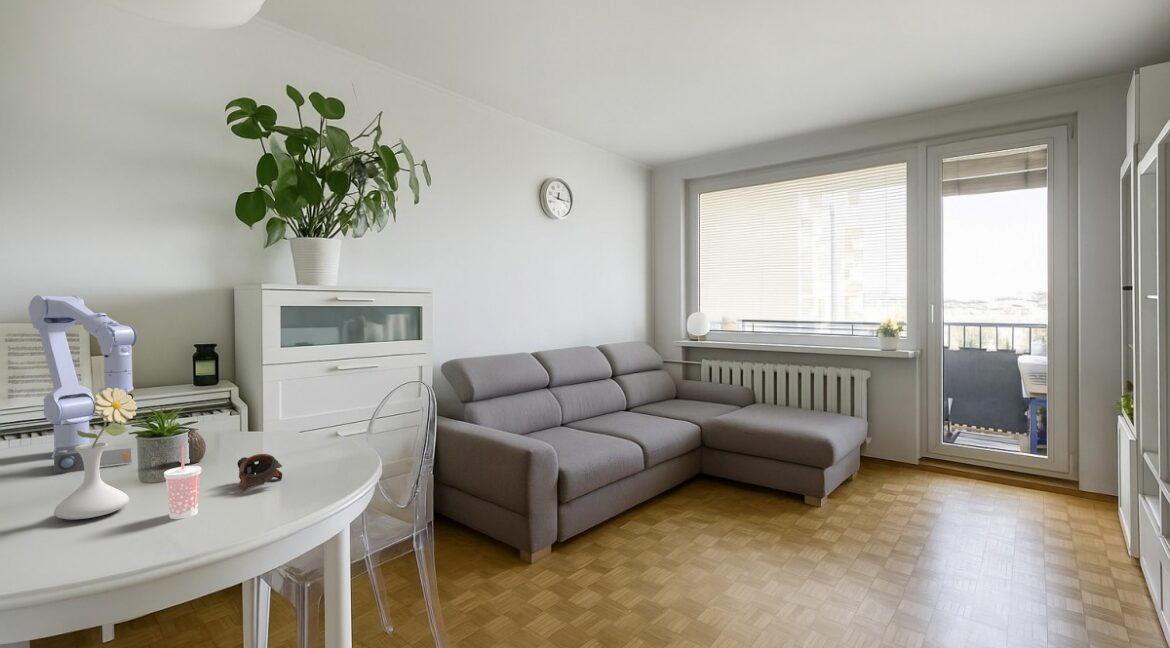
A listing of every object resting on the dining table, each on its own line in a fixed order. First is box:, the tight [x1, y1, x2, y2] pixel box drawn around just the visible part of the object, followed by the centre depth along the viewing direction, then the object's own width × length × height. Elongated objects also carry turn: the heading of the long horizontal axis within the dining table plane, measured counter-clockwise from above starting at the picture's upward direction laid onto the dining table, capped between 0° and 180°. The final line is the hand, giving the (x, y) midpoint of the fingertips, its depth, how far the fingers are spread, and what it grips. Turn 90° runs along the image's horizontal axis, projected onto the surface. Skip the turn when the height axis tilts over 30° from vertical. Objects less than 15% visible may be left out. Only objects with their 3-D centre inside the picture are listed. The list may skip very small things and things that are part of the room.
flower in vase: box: [53, 388, 138, 520], centre depth 112 cm, size 13×11×25 cm
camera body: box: [53, 444, 84, 474], centre depth 142 cm, size 11×6×5 cm, turn 41°
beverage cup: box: [163, 445, 202, 520], centre depth 111 cm, size 6×6×14 cm
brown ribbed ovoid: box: [188, 428, 207, 465], centre depth 147 cm, size 7×7×9 cm
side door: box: [99, 446, 133, 467], centre depth 143 cm, size 8×1×4 cm, turn 123°
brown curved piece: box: [236, 453, 283, 492], centre depth 129 cm, size 12×10×8 cm
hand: (119, 422), depth 148 cm, fingers closed
